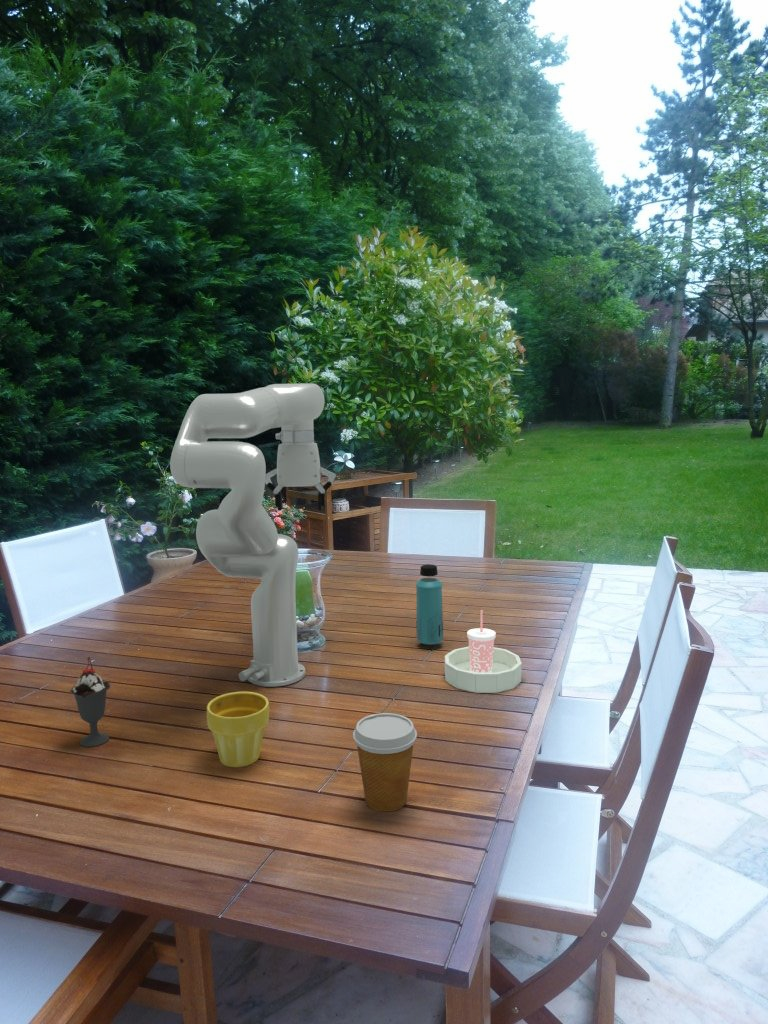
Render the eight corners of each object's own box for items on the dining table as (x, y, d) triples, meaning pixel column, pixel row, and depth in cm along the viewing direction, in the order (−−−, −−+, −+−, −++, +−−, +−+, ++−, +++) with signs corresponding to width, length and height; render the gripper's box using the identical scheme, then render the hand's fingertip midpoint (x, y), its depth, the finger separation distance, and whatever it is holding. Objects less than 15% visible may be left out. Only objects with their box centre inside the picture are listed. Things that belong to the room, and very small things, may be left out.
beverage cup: (461, 673, 153) (461, 610, 150) (478, 665, 157) (478, 603, 155) (484, 680, 148) (484, 616, 146) (501, 672, 153) (502, 609, 150)
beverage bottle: (441, 651, 168) (441, 569, 165) (413, 649, 170) (413, 568, 166) (444, 641, 175) (444, 562, 171) (418, 640, 176) (417, 561, 173)
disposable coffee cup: (415, 782, 112) (414, 710, 110) (419, 817, 103) (419, 740, 101) (354, 783, 112) (353, 712, 110) (354, 819, 103) (352, 742, 101)
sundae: (102, 728, 132) (95, 651, 130) (121, 738, 128) (114, 659, 126) (67, 741, 127) (59, 662, 125) (86, 753, 123) (79, 671, 121)
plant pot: (283, 751, 123) (281, 698, 121) (243, 779, 114) (240, 722, 112) (238, 737, 128) (235, 686, 126) (196, 763, 119) (192, 708, 117)
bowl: (502, 698, 142) (502, 680, 141) (431, 682, 150) (431, 664, 150) (531, 671, 155) (531, 654, 155) (465, 658, 164) (465, 641, 163)
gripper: (258, 439, 164) (261, 512, 167) (333, 438, 164) (335, 511, 167) (263, 437, 171) (266, 507, 174) (335, 436, 171) (337, 506, 174)
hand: (300, 509), depth 171 cm, fingers open, 9 cm apart
